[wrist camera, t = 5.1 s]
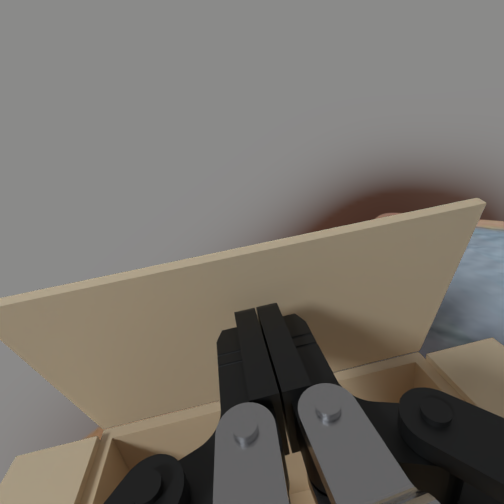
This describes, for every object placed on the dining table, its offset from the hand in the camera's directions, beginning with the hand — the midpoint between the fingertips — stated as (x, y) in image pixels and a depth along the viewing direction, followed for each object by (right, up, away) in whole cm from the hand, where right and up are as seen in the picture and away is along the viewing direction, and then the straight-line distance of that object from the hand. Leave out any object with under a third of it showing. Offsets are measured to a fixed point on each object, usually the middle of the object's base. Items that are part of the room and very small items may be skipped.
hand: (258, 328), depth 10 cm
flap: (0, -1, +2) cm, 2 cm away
